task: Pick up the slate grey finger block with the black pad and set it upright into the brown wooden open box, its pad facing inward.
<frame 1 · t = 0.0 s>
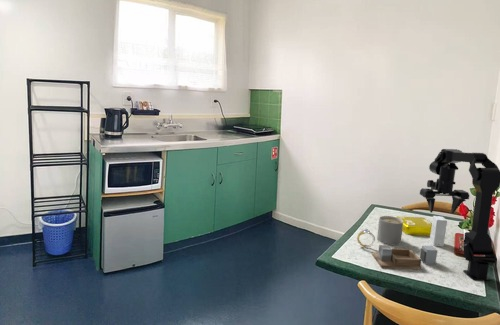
hand: (441, 212, 154), 15 cm above the table, tool pointing down, fingers open, 9 cm apart
coffee mug: (389, 239, 160), on the table
finger block: (427, 262, 139), on the table
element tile: (414, 230, 174), on the table
brown wooden open box: (395, 261, 138), on the table
ring: (365, 247, 151), on the table
skincare box: (436, 244, 157), on the table
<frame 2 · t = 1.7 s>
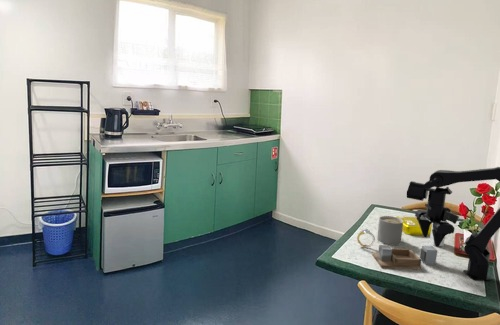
hand: (430, 241, 137), 9 cm above the table, tool pointing down, fingers open, 9 cm apart
nothing on the table moved.
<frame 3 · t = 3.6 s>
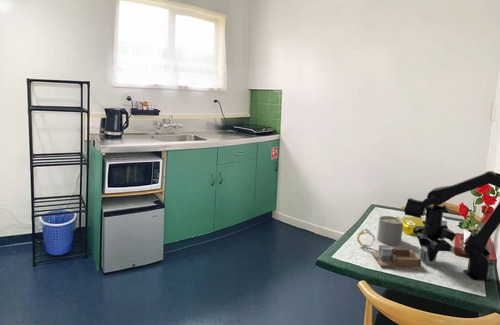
hand: (428, 258, 138), 2 cm above the table, tool pointing down, fingers closed on finger block, 4 cm apart
finger block: (427, 262, 139), on the table, touching gripper
everything else where it was.
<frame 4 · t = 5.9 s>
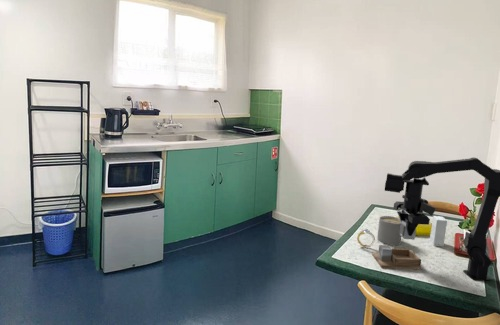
hand: (407, 233, 136), 12 cm above the table, tool pointing down, fingers closed on finger block, 4 cm apart
finger block: (407, 237, 136), point 10 cm above the table, touching gripper
everything else where it was.
when the fingers open (4 cm above the table, at t = 8.4 s): finger block drops 2 cm, resting on brown wooden open box.
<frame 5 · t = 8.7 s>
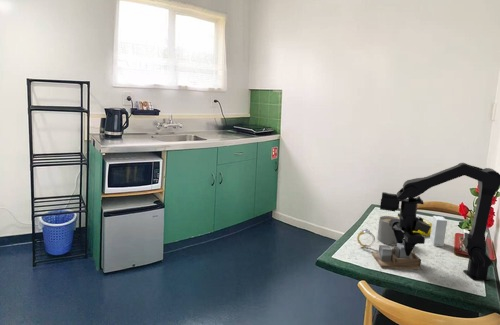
hand: (403, 251, 137), 4 cm above the table, tool pointing down, fingers open, 7 cm apart
finger block: (402, 259, 138), point 1 cm above the table, touching brown wooden open box
everything else where it was.
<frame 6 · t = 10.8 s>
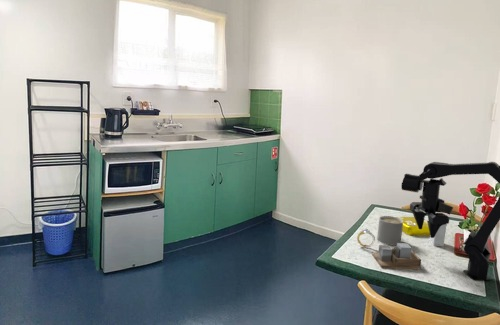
hand: (426, 233, 138), 11 cm above the table, tool pointing down, fingers open, 9 cm apart
nothing on the table moved.
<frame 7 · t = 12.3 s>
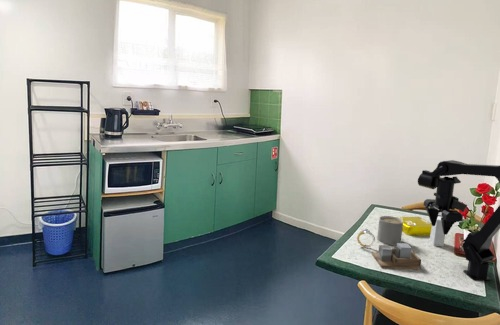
hand: (439, 229, 140), 12 cm above the table, tool pointing down, fingers open, 9 cm apart
nothing on the table moved.
at the end: finger block 0.2 cm from the target spot on the brown wooden open box, point 1.0 cm above the brown wooden open box's base; finger block tilted 0°; the gripper is holding nothing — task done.
